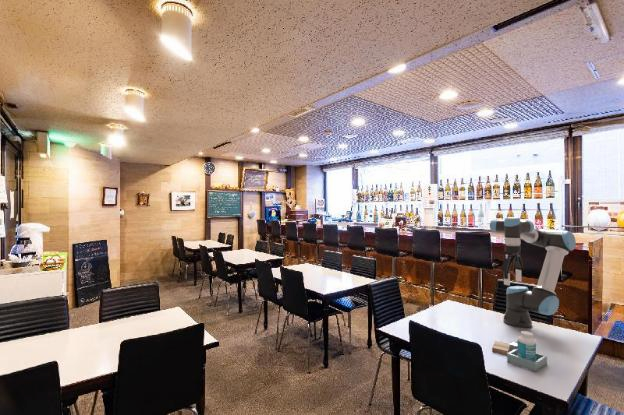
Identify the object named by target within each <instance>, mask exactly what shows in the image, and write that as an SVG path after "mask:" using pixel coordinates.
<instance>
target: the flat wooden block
mask: <svg viewBox="0 0 624 415" xmlns="http://www.w3.org/2000/svg"><path fill="white" fill-rule="evenodd" d="M510 344H511V343H507V342H503V341H498V340H494V342H493V345H492V349H491V351H492V352H494V353H497V354H502V355H505V356H507V353H509V352H510Z"/></svg>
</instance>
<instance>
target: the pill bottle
mask: <svg viewBox="0 0 624 415" xmlns="http://www.w3.org/2000/svg"><path fill="white" fill-rule="evenodd" d="M533 336H534V335H533V333H532V332H531V331H526V330H521V331H520V335H518V336H517V342H516V343H517V356H519V357H522V358H524V359H527V360H530V361H533V362H535V361H536V353H537V340H536V339H535V338H533Z"/></svg>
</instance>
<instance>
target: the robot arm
mask: <svg viewBox="0 0 624 415" xmlns="http://www.w3.org/2000/svg"><path fill="white" fill-rule="evenodd" d="M489 222H490V223H489V229H490V231H491V232H494V233H501V234H504V238H503V241H504V252H506V253H507V254H504V257H503V262H502V267H501V273H503V285H505V286H508V287H507V288H506V293H505V295H506V296H505V298H506V311H505V313H504V316H503V323H505V324H506V325H509V326H513V327H517V328H531V327H532V326H533V321H532V319H531V316H530V313H529V311H530V312H534V313H537V314H541V315H545V316H552V315H554V314H555V313H556V312H557V311H558V310H559V306H560V300H559V298H558V297H557V294H556V292H555V289H556V287H557V283H558V279H559V276H560V272H561V269H562V266H563V263H564V262H563V261H564V259H565V256H567V255H568V254H569V252H570V251H574V250H575V249H576V245H577V243H576V237H575V235H574V233H573V232H571V231H569V230H562V229H559V230H558V229H557V230H556V229H555V230H554V229H537V228H535V225H534V223H533V221H531V220H528V219H524V220H523V219H521V218H520V217H515V216H514V217H513V216H512V217H511V216H510V217H509V216H508V217H505V218H504V219H492V220H491V221H489ZM521 240H523V241H524V242H526V243H528V244H531V245H534V246H537V247H540V248H545V250H546V251H547V252H546V254H545V258H544V261H543V265H542V269H541V271H540V275H539V277H538V281H537V284H536V286H534V287H533V288H532V290H529V288H528V287H527V286H523V285H522V286H521V285H515V286H511V273H510V272H511V271H510V270H511V268H512V265H513V264H514V266H515V281H516V282H521V283H522V271H524V263H523V261H522V260H523V259H522V256H521V249H522V248H521Z"/></svg>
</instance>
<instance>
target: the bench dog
mask: <svg viewBox="0 0 624 415" xmlns="http://www.w3.org/2000/svg"><path fill="white" fill-rule="evenodd" d="M509 344H510V351H512V350H514V349H516V348H517V342H514V341H512V342H511V343H509ZM510 351H509V352H510Z"/></svg>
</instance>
